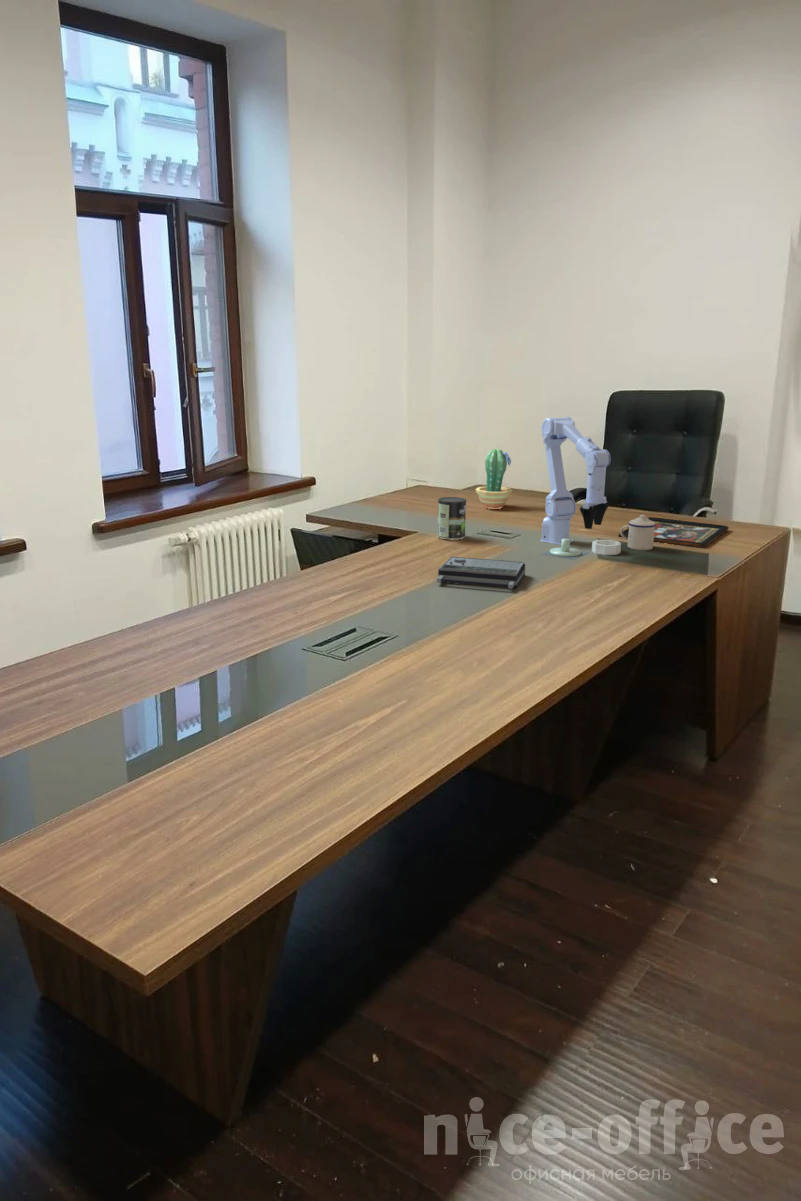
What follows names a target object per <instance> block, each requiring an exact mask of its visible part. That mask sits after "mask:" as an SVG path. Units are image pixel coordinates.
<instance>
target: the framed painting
mask: <svg viewBox="0 0 801 1201" xmlns="http://www.w3.org/2000/svg"><path fill="white" fill-rule="evenodd" d="M647 518H648V519H649V520H651V521H653V522H655V529H654V540H653V543H657V542H659V543H658V544H664V543H667V544H666V545H672V544H673V545H674V546H682V547H690V548H695V549H696V548H697V549H705V548H706V547H708V546H709V545H710V544H711V542H712V543H713V542H714V541H715V540H716V539H718V538H719V537H721V536H722V535H724V534H723V533H724V532H725V533H726V532H728V530H729V526H728V525H721V524H714V523H705V522H698V521H687V520H680V519H679V520H678V519H673V518H664V517H654V516H653V517H652V516H649V517H647ZM623 534H624V536H625V537H628V534H629V528H626V529H623ZM721 534H722V535H721ZM720 535H721V536H720ZM619 537H622V536H621V534H620V532H619V533H618V538H619ZM621 539H624V538H623V537H622V538H621ZM707 545H708V546H707Z"/></svg>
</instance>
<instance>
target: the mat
mask: <svg viewBox="0 0 801 1201" xmlns="http://www.w3.org/2000/svg"><path fill="white" fill-rule="evenodd" d="M580 551H581V550H580ZM587 554H590V552H587V551H581V554H580V555H579V556H575V557H560V556H554V555H552V554H550V550H548V551H545V552H542V553H541V555H542V556H543V555H544V556H550V557H555V558H562V559H568V560H576V559H577V558H581V557H582V556H585V555H587Z"/></svg>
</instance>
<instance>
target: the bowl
mask: <svg viewBox="0 0 801 1201" xmlns="http://www.w3.org/2000/svg"><path fill="white" fill-rule="evenodd" d="M591 543H592V544H591V552H593V553H594V554H597V555H603V556H613V555H614V556H616V555H619V554H621V551H622V542H620V541H618V540H613V539H596V540H593V541H592V542H591Z"/></svg>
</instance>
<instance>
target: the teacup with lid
mask: <svg viewBox="0 0 801 1201" xmlns="http://www.w3.org/2000/svg"><path fill="white" fill-rule="evenodd" d="M625 528H626V529H628V528H629V534H628V537H625V536H624V534H623V531H624V529H625ZM654 529H655V522H653V521H651V520H649V519H648V517H647V516H646V515H645V514H640V515H639V517H637V518H634V519H631V520H629V522H628V525H623V526H622V527H621V528H620V529H619V530H620V531H619V533H620V534H621V536H622V537H623V538H622V539H624V540H627V548H628V547H629V548H628V549H630V548H631V549H630V550H636V551H650V550H653V548H654V542H653V540H654Z"/></svg>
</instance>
